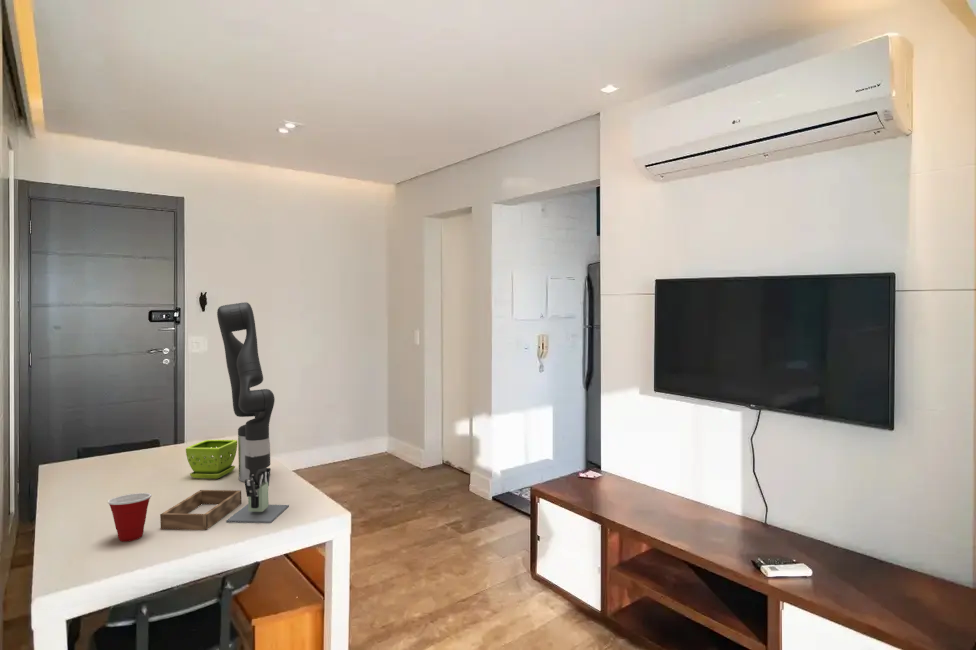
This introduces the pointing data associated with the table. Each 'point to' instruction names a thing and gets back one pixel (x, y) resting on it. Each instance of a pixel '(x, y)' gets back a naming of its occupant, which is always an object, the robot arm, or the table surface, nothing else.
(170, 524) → the wooden frame
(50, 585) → the table surface
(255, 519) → the slate mat
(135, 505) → the plastic cup
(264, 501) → the sage block
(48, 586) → the table surface
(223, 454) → the flower pot
